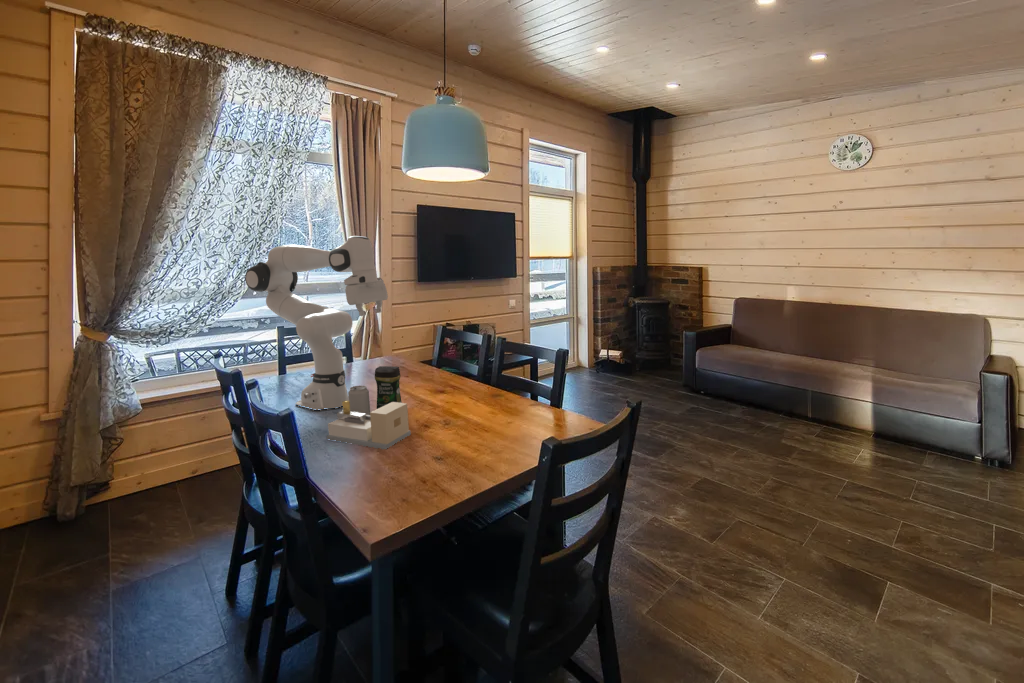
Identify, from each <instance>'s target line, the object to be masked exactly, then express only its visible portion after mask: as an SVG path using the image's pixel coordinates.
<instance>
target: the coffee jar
mask: <svg viewBox="0 0 1024 683" xmlns="http://www.w3.org/2000/svg"><path fill="white" fill-rule="evenodd" d="M400 379H401V370H400V367H399V366H394V365H393V366H390V365H386V366H385V365H379V366H377V367H376V368H375V370H374V381H375V384H376V409H378V408H380V407H383V406H385V405H387V404H389V403H391V402H398V403H403V402H402V397H401V388H400Z"/></svg>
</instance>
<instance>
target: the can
mask: <svg viewBox="0 0 1024 683" xmlns="http://www.w3.org/2000/svg"><path fill="white" fill-rule="evenodd" d="M347 393H348V396H349V401H350V411H351V412H358V413H365V414H366V415H370V412H371V404H370V402H371V400H370V391H369V389H368V388H367V386H366V385H355V386H351V387H349V391H347Z"/></svg>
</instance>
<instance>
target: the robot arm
mask: <svg viewBox="0 0 1024 683" xmlns="http://www.w3.org/2000/svg"><path fill="white" fill-rule="evenodd" d="M375 265H376V264H375V252H374V248H373V245H372V242H371V239H370V238H369V237H367V236H360V235H351V236H349V237H348V238H347V240H346V241H345V242H344V243H342V244H341V245H339V246H337V247H334V248H333V249H331V250H325V249H321V248H315V247H312V246H311V247H310V246H307V245H300V244H284V245H279V246H275V247H273V248H271V249H270V250H269V252H268V255H267V261H266V262H263V261H259V262H257V264H255V265H253V266H251V267H250V268H248V269H247V270H246V272H245V276H244V279H245V280H244V281H245V283H246V286H247V287H248V289H250V290H251V291H254V292H257V293H258V292H261V293H263V292H267V296H266V299H265V305H266V307H267V308H269V310H270V311H271V312H273V313H274V314H275V315H277V316H279V317H280V318H282V319H283V320H286V321H287V322H289V323H292V325H295V332H296V334H297V336H298V337H299V339H300V340H302V341H304V342H305V343H306V344H307V346H308V347H309V349H310V351H311V353H312V358H313V363H314V364H313V365H314V373H310V378H312V381H311V382H309V384H308V385H307V386H306V387H304V388H302V391H301V394H300V396H301V397H300V400H298V401H297V402H295V405H296V404H297V405H301V406H305V407H309V408H312V409H316V410H318V409H324V408H335V407H340V408H342V407H341V406H342V402H343V401H349V396H348V388H347V384H346V370H345V369H344V359H343V352H342V350H340V349H339V348H337V347H336V346H335V345H334V342H333V338H337V337H341V336H343V335H346V334H347V333H349V332H350V331H351V330H352V328H353V319H352V318H353V317H352V316H351V315H350V313H349V312H347V311H345V310H340V309H334V308H332V307H328V306H324V305H320V304H317V303H314V302H311V301H309V300H307V299H304V298H302V297H300V296H298V295H296V294H295V293H293V292H294V291H295V289H296V287H297V284H298V279H299V278H298V277H299V276H298V273H304V272H309V271H314V270H318V269H323V268H331V269H332V270H333V271H334V272H337V273H352V275H350V276H348V277H346V278H345V279H343V283H344V285H345V289H344V290H345V297H346V298H345V299H346V302H347V304H348V305H349V306H355V308H356V309H357V311H358V314H359V316H360V317H365V316H366V315H367V313H366V310H364V309H363V307H364V306H363V305H364V304H367V303H374V302H375V304H376V307H375V309H374V310H375V313H376V314H380V313H382V306H383V301H387V300H388V297H389V295H388V294H389V293H388V290H387V286H386V284H385V282H384V279H383V278H381V277H378V273H377V272H378V271H377V267H376V266H375ZM335 409H336V408H335Z"/></svg>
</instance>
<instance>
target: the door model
mask: <svg viewBox="0 0 1024 683" xmlns="http://www.w3.org/2000/svg"><path fill="white" fill-rule="evenodd" d="M408 410H409V409H408V403H404V402H402V403H398V402H391V403H389V404H387V405H385V406H383V407H380V408H378V409H377V408H376V409H374V410H372V411H370V415H366V420H358V419H351V418H344V419H337V418H336V420H333V421H331V422H329V423H327V427H328V428H327V429H328V435H326V440H327V439H330V440H336V441H341V442H340V443H342V442H347V443H346V444H348V443H352V444H351V445H354V444H358V445H357V446H360V445H363V446H362V447H366V446H368V447H367V448H372V447H374V449H378V448H381V449H380V450H384V449H386V450H388V449H390V448H391V447H393V446H394V444H395V443H396V444H397V442H398V441H399V442H401V441H403V440H404V439H406V438H408V437H409V436H411V433H412V432H411V430H410V428H409V414H408ZM407 436H408V437H407ZM405 437H406V438H405ZM402 439H403V440H402ZM330 440H329V441H330ZM400 440H401V441H400ZM336 441H335V442H336ZM399 442H398V443H399ZM396 444H395V445H396ZM392 445H393V446H392ZM390 446H391V447H390ZM389 447H390V448H389ZM387 448H388V449H387Z"/></svg>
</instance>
